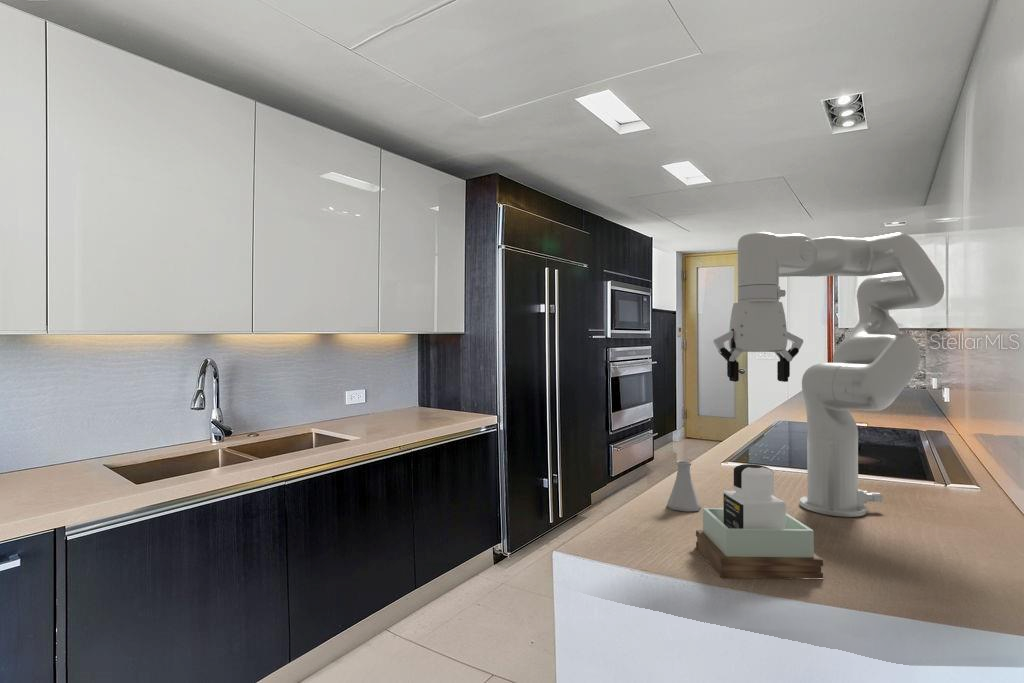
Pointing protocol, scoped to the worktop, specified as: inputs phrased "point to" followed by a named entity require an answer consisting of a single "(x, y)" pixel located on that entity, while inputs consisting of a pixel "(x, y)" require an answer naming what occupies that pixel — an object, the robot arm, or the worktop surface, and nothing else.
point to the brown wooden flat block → (758, 563)
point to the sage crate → (758, 538)
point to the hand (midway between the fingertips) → (758, 381)
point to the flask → (683, 490)
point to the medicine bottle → (753, 500)
